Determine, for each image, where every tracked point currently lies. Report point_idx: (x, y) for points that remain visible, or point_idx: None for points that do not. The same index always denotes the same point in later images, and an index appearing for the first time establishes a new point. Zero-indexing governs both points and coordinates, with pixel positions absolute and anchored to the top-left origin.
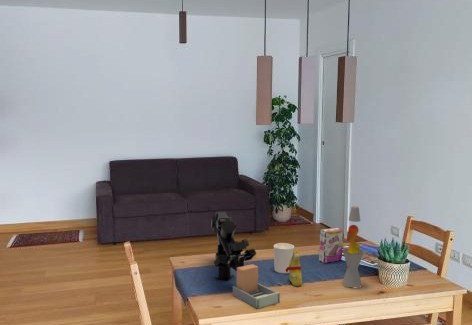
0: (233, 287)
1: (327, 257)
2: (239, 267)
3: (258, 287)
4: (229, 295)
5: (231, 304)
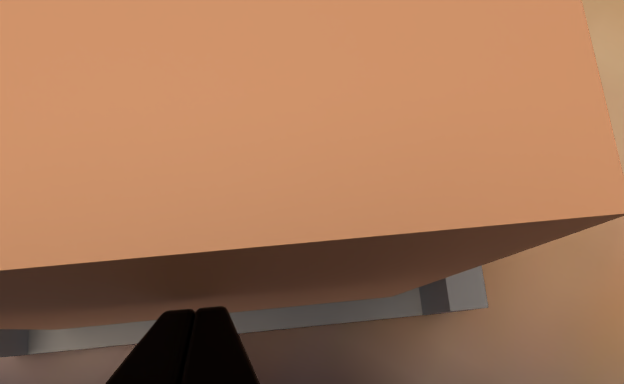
0: (479, 282)
1: None
2: (478, 168)
3: None
4: (497, 312)
5: (593, 40)
